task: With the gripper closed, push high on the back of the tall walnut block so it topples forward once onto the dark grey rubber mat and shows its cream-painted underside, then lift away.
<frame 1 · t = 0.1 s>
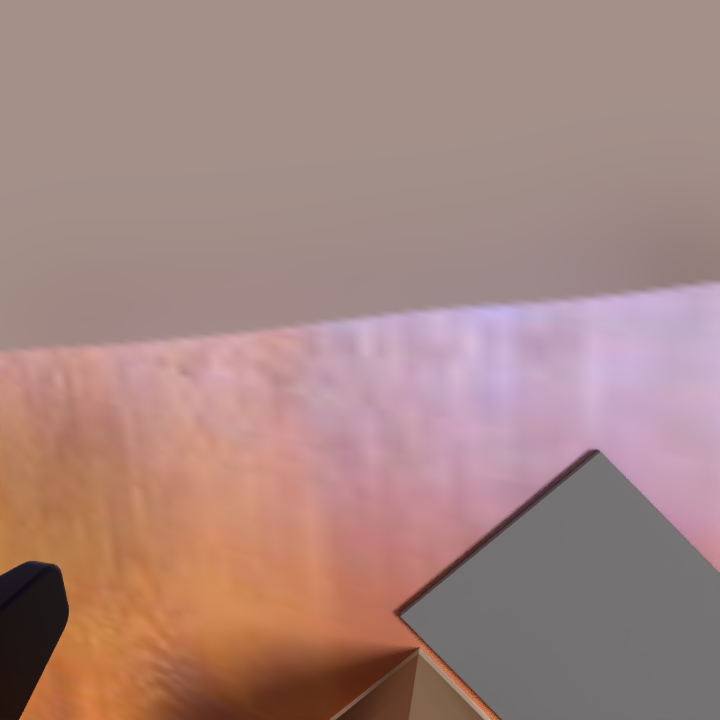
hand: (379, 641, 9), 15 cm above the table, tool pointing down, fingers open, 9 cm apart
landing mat: (592, 633, 24), on the table
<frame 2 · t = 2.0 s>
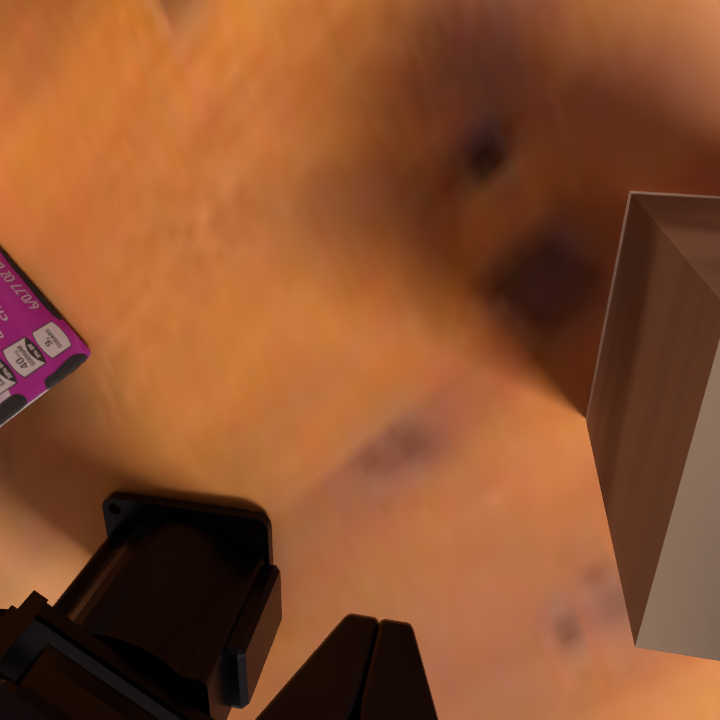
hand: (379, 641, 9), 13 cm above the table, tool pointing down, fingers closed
walnut block: (697, 320, 19), on the table
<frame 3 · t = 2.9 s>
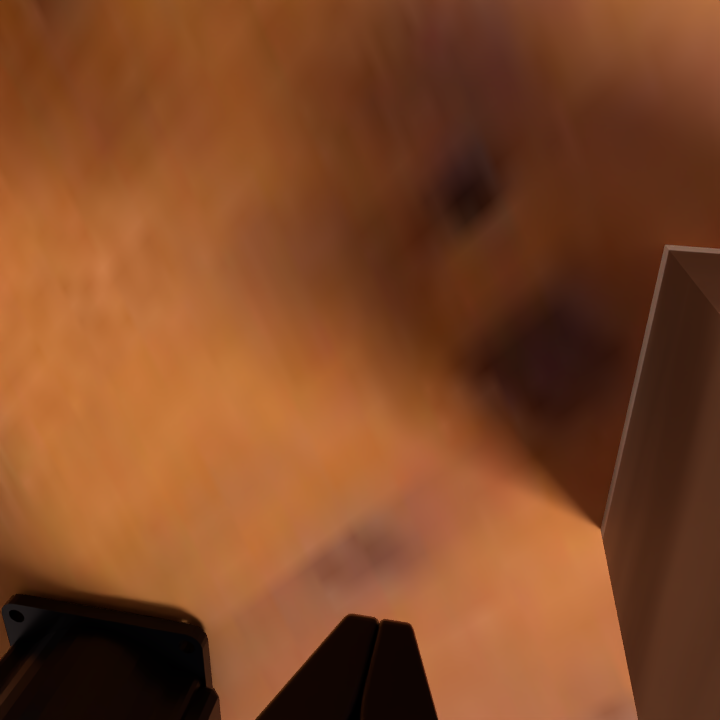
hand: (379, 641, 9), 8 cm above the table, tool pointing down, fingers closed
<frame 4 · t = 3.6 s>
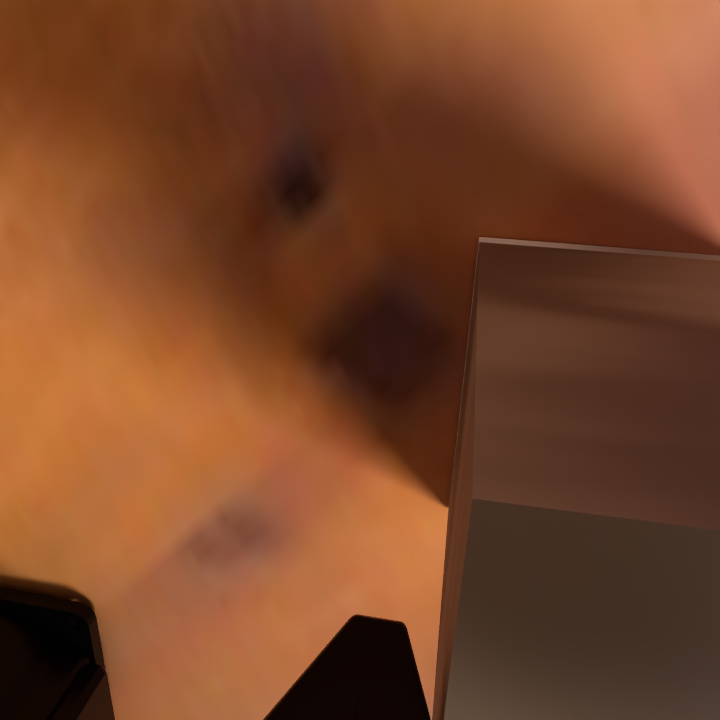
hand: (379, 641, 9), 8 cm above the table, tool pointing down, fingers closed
walnut block: (575, 399, 15), on the table, touching gripper
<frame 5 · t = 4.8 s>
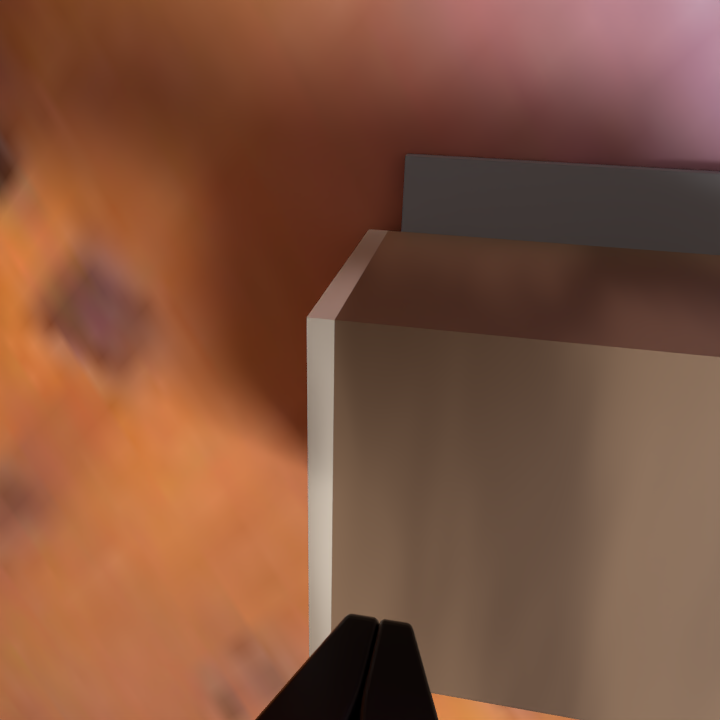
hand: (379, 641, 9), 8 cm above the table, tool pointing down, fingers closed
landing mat: (609, 401, 15), on the table
walnut block: (340, 438, 13), point 3 cm above the table, tilted 90°, touching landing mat
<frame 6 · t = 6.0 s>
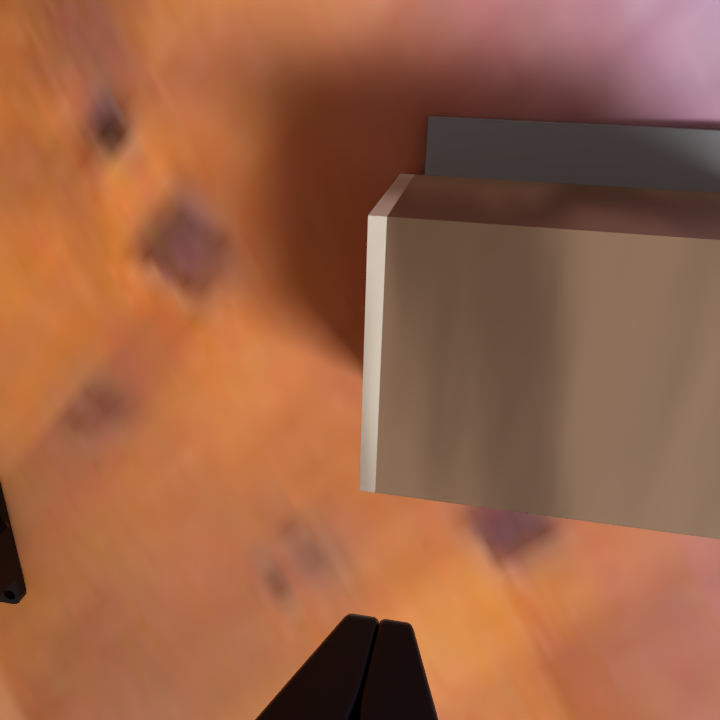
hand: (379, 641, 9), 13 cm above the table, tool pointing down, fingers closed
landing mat: (582, 307, 20), on the table
walnut block: (380, 325, 18), point 3 cm above the table, tilted 90°, touching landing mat
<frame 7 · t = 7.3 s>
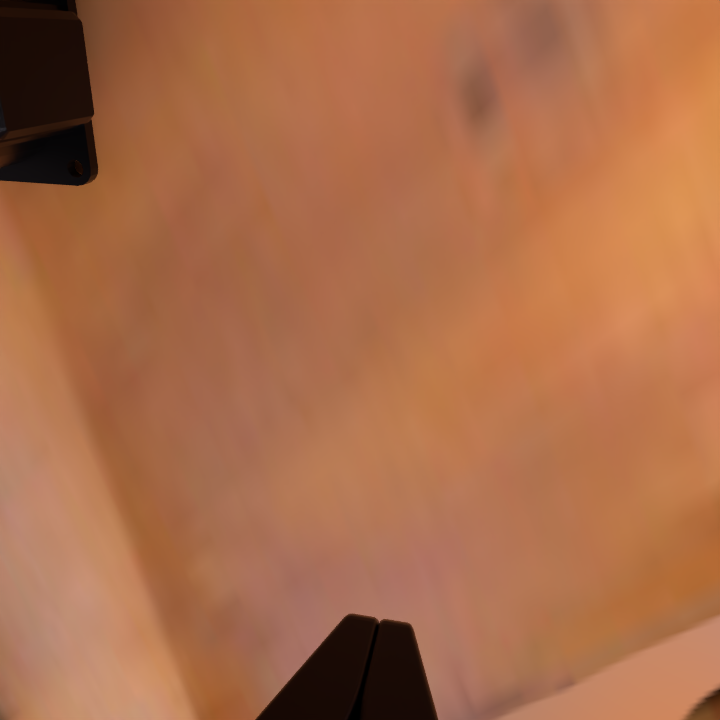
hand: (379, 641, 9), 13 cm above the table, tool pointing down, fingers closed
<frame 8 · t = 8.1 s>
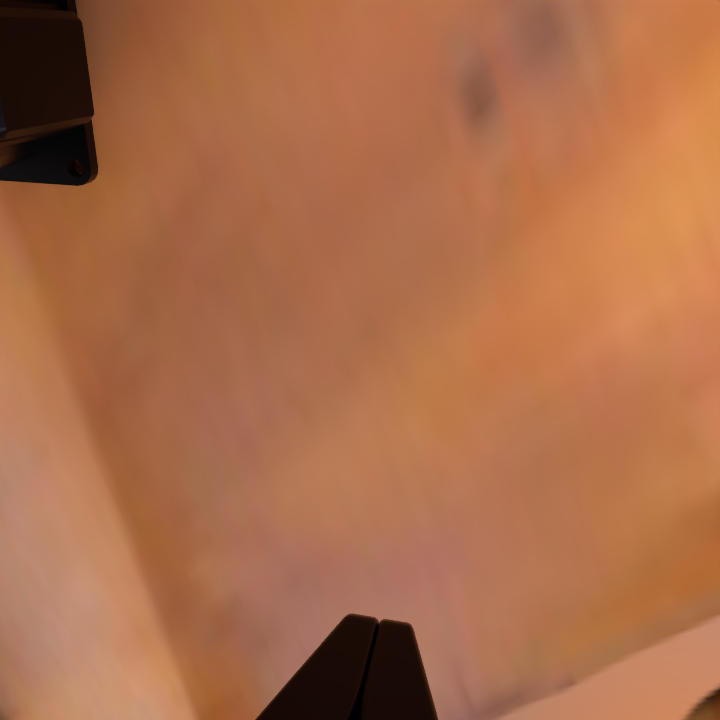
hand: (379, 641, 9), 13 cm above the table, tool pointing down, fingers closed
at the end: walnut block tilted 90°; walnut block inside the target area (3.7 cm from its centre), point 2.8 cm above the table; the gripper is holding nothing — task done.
